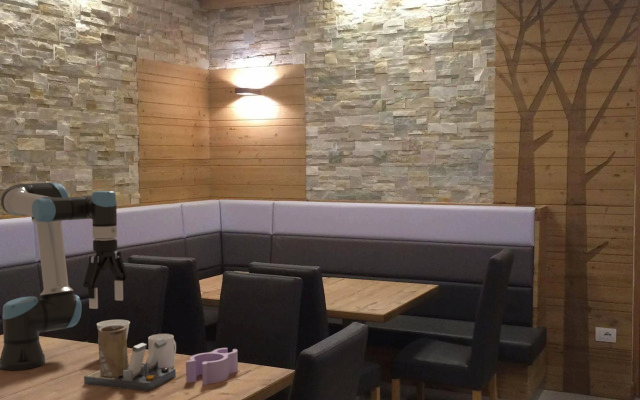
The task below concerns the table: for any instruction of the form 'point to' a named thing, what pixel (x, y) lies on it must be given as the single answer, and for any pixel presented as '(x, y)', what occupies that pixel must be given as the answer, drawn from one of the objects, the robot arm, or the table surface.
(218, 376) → the clip
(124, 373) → the panel
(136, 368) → the toggle
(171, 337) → the mug
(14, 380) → the table surface
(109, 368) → the mug
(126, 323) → the cup
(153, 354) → the toggle
